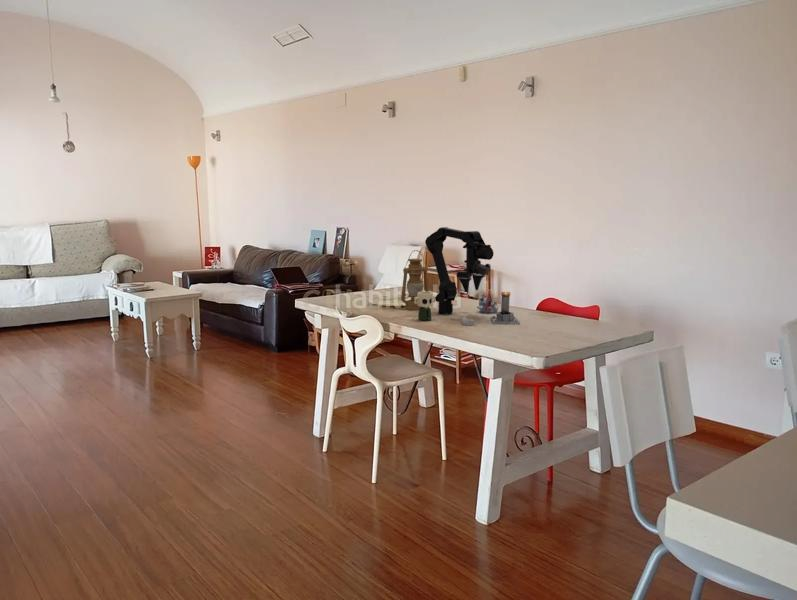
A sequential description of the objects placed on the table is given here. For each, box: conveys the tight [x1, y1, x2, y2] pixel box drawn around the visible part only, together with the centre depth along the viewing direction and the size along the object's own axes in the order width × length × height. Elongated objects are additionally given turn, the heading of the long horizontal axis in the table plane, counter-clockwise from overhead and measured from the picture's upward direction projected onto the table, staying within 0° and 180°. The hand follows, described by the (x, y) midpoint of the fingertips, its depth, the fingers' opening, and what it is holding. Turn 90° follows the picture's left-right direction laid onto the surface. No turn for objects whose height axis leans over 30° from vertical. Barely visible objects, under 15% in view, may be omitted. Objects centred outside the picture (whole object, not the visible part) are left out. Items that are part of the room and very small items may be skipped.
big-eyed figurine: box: [414, 291, 436, 321], centre depth 300 cm, size 11×7×13 cm, turn 114°
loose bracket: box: [461, 316, 475, 326], centre depth 292 cm, size 5×8×2 cm, turn 178°
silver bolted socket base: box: [490, 311, 521, 325], centre depth 298 cm, size 12×12×4 cm
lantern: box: [400, 250, 430, 311], centre depth 328 cm, size 15×10×30 cm
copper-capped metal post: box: [500, 291, 511, 314], centre depth 297 cm, size 4×4×12 cm
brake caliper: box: [476, 290, 499, 314], centre depth 322 cm, size 11×11×12 cm
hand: (471, 291), depth 303 cm, fingers open, 9 cm apart
